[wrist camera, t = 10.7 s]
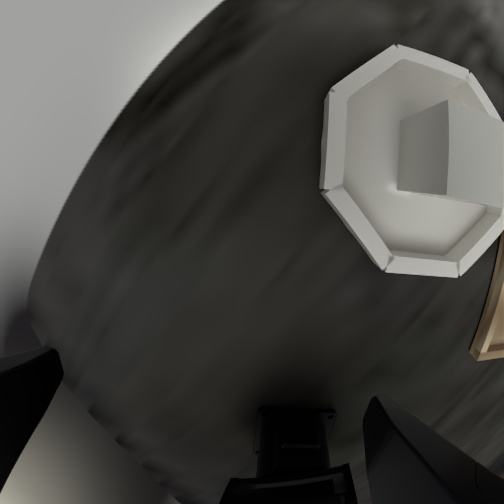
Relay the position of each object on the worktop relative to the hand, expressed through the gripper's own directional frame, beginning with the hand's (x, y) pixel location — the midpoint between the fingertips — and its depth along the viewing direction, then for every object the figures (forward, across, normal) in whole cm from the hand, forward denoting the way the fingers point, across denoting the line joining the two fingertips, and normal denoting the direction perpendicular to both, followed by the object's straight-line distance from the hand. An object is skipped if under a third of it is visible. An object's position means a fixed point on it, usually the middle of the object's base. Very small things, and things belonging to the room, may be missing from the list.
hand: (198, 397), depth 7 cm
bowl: (+12, -11, -8) cm, 18 cm away
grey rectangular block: (+12, -11, -8) cm, 18 cm away
